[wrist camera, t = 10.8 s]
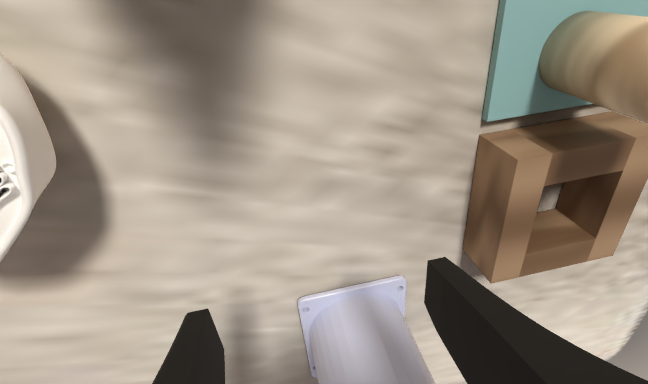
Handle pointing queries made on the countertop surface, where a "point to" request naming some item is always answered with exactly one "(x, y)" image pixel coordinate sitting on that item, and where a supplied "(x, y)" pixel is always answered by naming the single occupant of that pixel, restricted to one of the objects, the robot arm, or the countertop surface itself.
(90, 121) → the countertop surface
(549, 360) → the robot arm
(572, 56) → the maple plug
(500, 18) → the teal mat
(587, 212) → the walnut block
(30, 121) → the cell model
